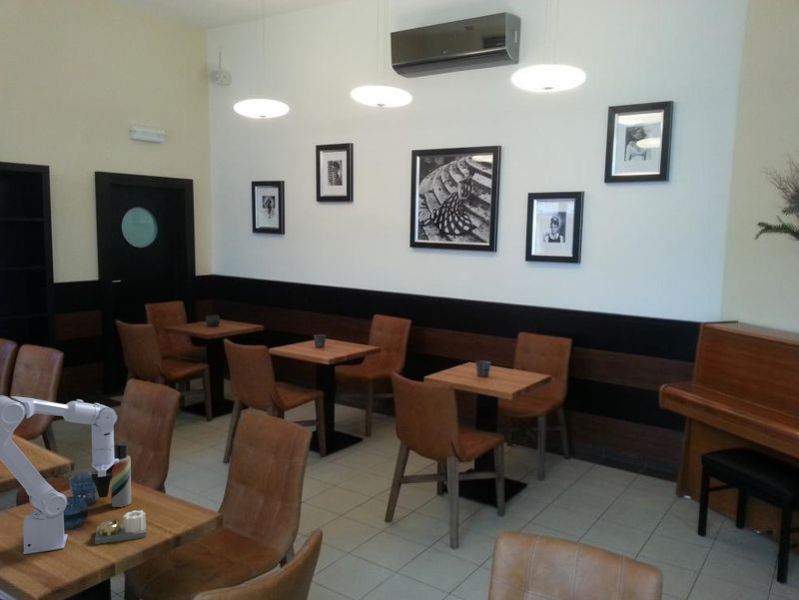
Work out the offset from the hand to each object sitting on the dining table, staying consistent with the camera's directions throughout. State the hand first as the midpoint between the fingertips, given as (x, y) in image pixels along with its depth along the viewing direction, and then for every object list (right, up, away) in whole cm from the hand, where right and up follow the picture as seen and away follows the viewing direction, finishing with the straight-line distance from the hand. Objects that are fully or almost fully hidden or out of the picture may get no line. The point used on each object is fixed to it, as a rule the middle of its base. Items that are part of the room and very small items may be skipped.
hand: (104, 491), depth 175 cm
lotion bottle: (-2, -9, +16) cm, 19 cm away
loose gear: (+10, -9, -3) cm, 14 cm away
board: (+7, -11, -4) cm, 13 cm away
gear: (+4, -9, -6) cm, 12 cm away
